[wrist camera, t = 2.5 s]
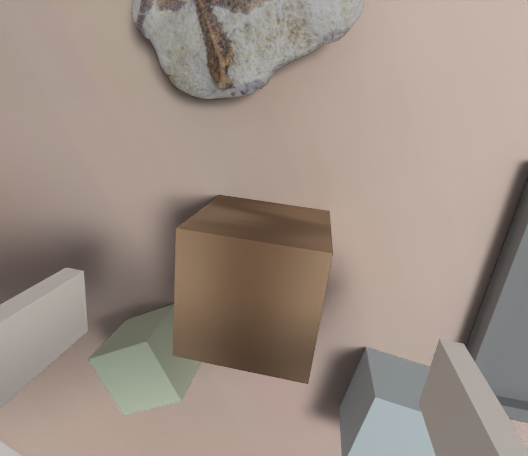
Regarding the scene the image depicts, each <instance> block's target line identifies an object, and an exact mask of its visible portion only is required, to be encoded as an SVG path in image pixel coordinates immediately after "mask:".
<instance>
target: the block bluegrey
mask: <svg viewBox="0 0 528 456" xmlns="http://www.w3.org/2000/svg"><path fill="white" fill-rule="evenodd" d="M429 370H430V367H429V366H426V365H423V364H420V363H417V362H413V361H410V360H407V359H404V358H401V357H397V356H394V355H391V354H388V353H384V352H381V351H378V350H375V349H372V348H368V347H366V348H365V350H364V352H363V355H362V357H361V359H360V362H359V364H358V366H357V369H356V371H355V373H354V376H353V378H352V380H351V382H350V385H349V387H348V389H347V392H346V394H345V396H344V399H343V401H342V403H341V406H340V408H339V413H340V431H341V449H342V456H436V455H435V452H434V449H433V446H432V443H431V440H430V437H429V433H428V430H427V427H426V424H425V421H424V418H423V415H422V412H421V409H420V406H419V400H420V397H421V394H422V391H423V388H424V385H425V382H426V379H427V376H428V373H429Z"/></svg>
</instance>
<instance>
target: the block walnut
mask: <svg viewBox="0 0 528 456" xmlns="http://www.w3.org/2000/svg"><path fill="white" fill-rule="evenodd" d="M332 256H333V248H332V236H331V223H330V211H325V210H318V209H312V208H305V207H298V206H291V205H285V204H278V203H271V202H264V201H257V200H251V199H244V198H237V197H230V196H224V195H219V196H218V197H216V198H215V199H214V200H212V201H211V202H210V203H208V204H207V205H206V206H204V207H203V208H202V209H200V210H199V211H198V212H196V213H195V214H194V215H192V216H191V217H190V218H189V219H187V220H186V221H185V222H183V223H182V224H181V225H179V226H178V227H177V228H176V242H175V283H174V323H173V356H176V357H181V358H186V359H191V360H195V361H200V362H205V363H210V364H215V365H219V366H224V367H229V368H234V369H239V370H243V371H248V372H253V373H258V374H263V375H267V376H272V377H277V378H282V379H287V380H291V381H296V382H301V383H306V384H308V382H309V377H310V371H311V366H312V361H313V356H314V350H315V345H316V340H317V335H318V329H319V324H320V319H321V314H322V308H323V303H324V298H325V293H326V287H327V282H328V277H329V272H330V266H331V261H332Z"/></svg>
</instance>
